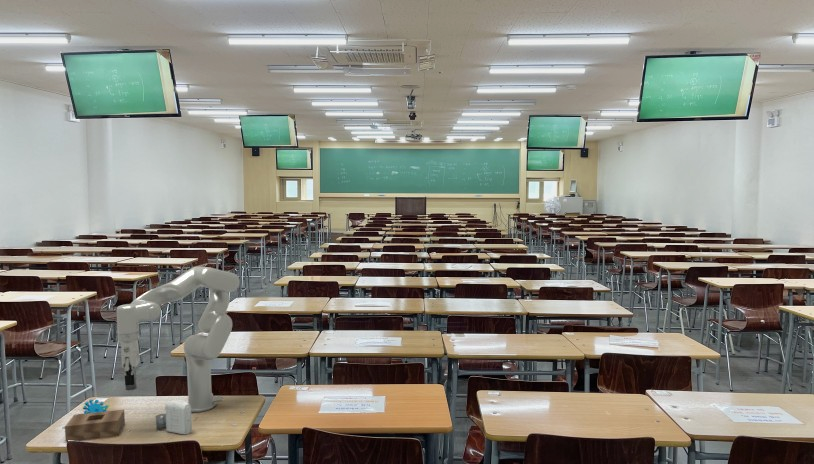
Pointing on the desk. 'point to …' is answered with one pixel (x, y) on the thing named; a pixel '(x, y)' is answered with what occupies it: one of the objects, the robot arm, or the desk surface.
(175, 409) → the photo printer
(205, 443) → the desk surface
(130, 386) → the long pin
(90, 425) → the hole block
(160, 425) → the short pin
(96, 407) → the gear
